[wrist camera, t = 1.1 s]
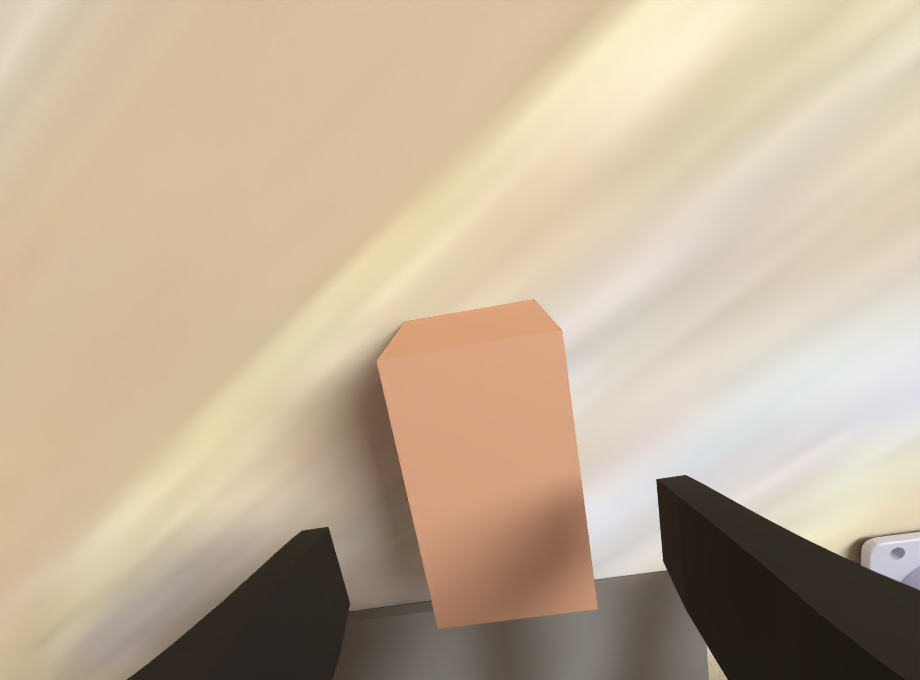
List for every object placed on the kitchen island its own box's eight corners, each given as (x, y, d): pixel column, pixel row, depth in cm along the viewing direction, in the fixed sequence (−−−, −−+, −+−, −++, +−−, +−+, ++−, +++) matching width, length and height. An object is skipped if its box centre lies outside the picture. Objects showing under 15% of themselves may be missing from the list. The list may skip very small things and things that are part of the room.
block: (533, 298, 16) (562, 329, 11) (562, 502, 17) (597, 608, 12) (405, 320, 16) (376, 361, 11) (447, 519, 18) (438, 629, 13)
